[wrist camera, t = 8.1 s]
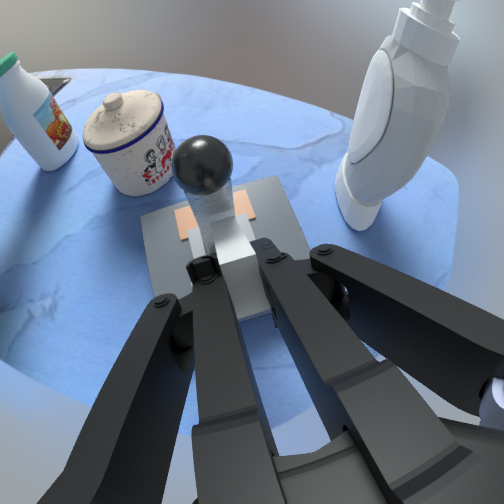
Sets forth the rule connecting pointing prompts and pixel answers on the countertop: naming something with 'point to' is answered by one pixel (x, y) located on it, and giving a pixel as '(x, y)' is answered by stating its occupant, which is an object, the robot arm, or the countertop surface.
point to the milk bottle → (35, 116)
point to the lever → (205, 181)
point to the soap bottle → (397, 110)
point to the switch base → (193, 244)
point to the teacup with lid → (131, 141)
